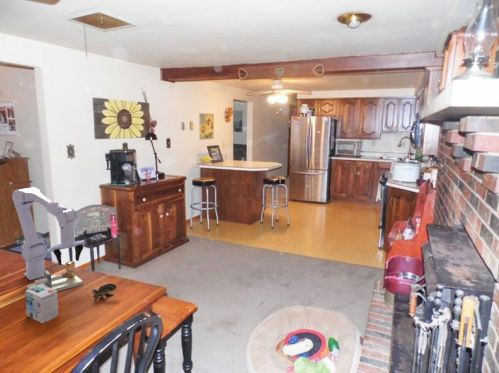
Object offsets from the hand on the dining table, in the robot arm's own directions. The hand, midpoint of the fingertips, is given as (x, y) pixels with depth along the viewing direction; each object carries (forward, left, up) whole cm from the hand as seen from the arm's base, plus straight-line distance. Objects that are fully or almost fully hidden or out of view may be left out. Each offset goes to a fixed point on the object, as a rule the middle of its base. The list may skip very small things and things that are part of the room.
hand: (68, 262), depth 161 cm
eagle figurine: (+25, +6, -11) cm, 28 cm away
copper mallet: (-1, -6, -8) cm, 10 cm away
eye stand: (-1, -6, -10) cm, 12 cm away
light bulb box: (+23, -18, -11) cm, 31 cm away
